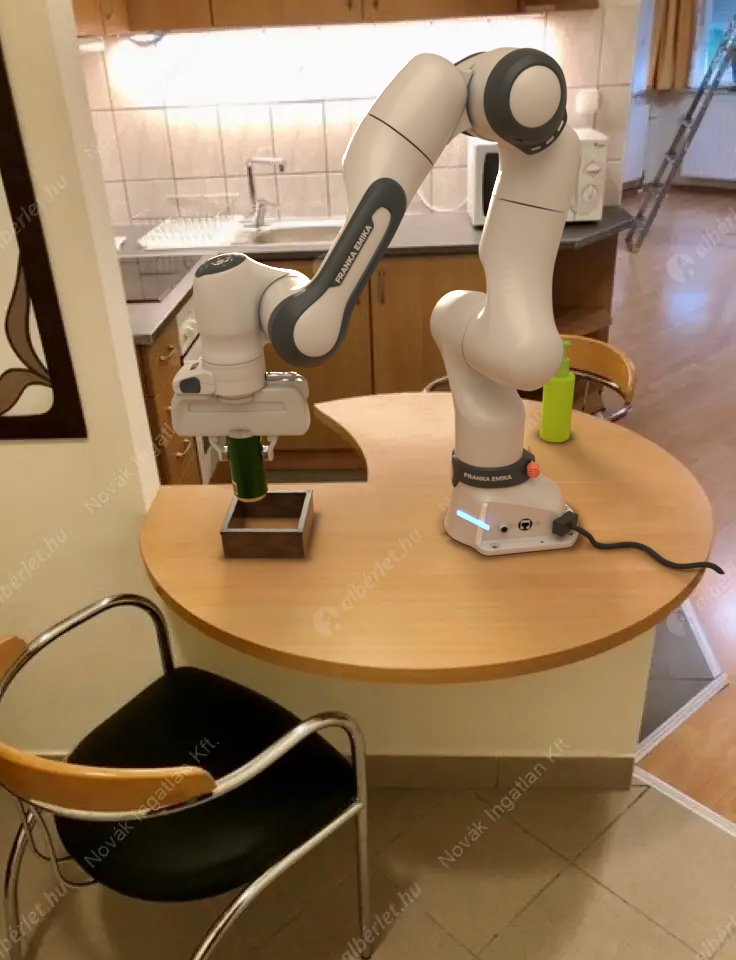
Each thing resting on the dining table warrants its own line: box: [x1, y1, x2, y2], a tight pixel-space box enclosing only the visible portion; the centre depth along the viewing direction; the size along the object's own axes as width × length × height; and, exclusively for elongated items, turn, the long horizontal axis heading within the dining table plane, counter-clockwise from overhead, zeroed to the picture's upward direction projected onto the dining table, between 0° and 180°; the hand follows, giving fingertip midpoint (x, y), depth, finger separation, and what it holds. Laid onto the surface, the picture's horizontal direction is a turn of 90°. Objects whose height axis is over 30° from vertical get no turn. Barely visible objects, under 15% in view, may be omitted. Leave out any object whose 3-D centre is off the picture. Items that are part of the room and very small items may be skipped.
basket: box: [219, 489, 315, 559], centre depth 147 cm, size 14×14×5 cm
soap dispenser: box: [539, 339, 576, 443], centre depth 169 cm, size 6×7×20 cm
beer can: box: [225, 430, 269, 502], centre depth 129 cm, size 5×5×12 cm
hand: (246, 459), depth 129 cm, fingers closed on beer can, 5 cm apart
